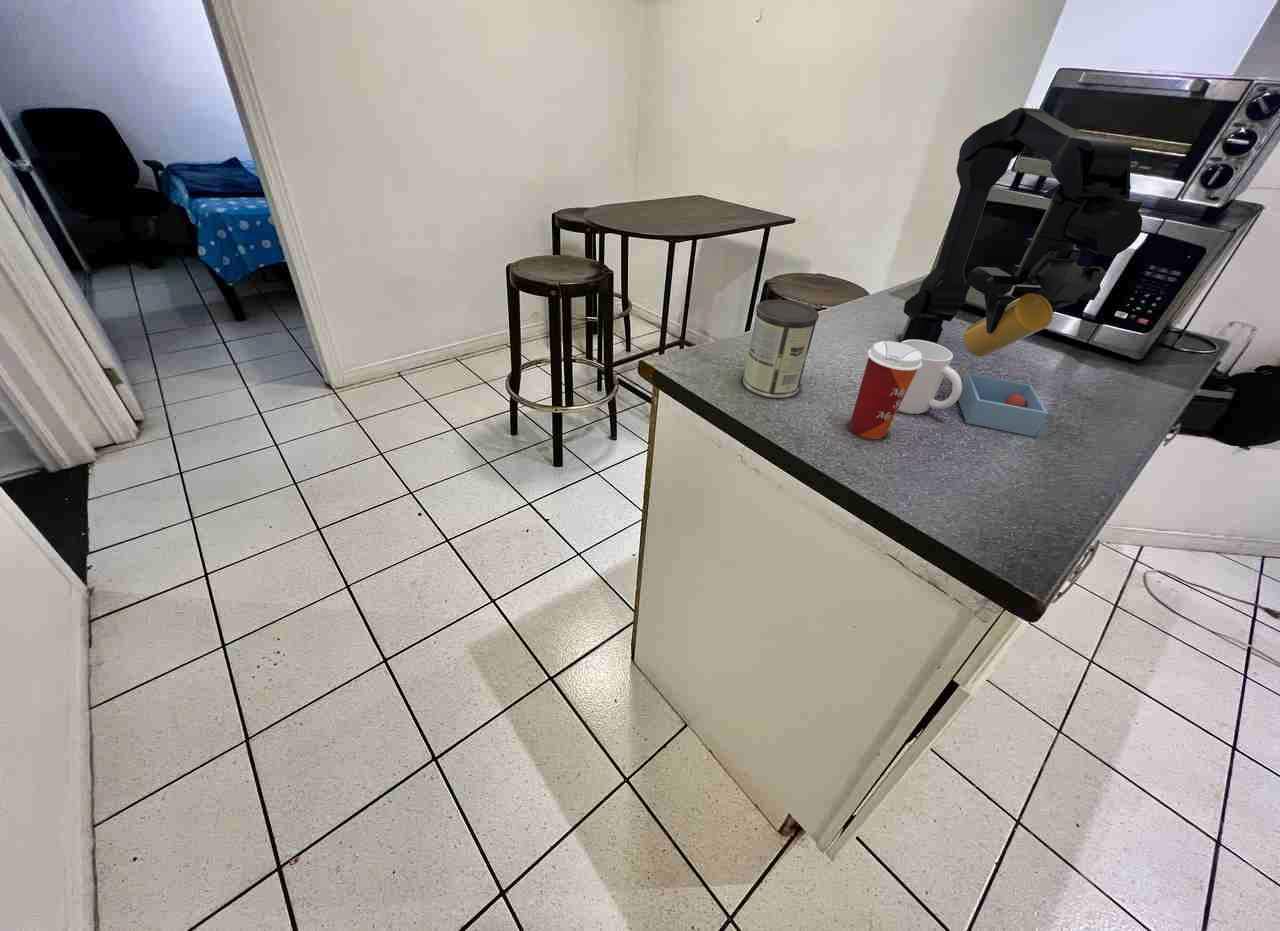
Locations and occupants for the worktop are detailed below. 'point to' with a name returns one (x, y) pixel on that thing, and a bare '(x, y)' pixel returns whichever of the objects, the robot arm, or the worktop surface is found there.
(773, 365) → the coffee can
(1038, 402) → the bin
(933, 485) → the worktop surface
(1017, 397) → the toy ball
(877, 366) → the paper cup
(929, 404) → the mug
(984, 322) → the tall tapered cup
